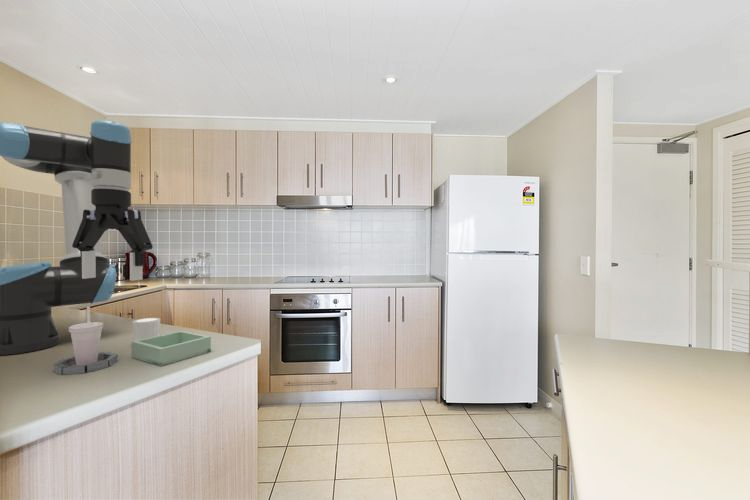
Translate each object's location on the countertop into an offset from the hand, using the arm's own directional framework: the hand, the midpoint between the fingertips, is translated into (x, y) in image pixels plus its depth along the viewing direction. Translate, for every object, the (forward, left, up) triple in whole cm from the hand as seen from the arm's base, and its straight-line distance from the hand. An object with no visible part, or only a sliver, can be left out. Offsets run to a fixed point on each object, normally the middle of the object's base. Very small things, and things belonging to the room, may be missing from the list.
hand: (112, 279), depth 83 cm
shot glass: (-11, +13, -21) cm, 27 cm away
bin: (+5, +11, -20) cm, 24 cm away
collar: (-4, -4, -20) cm, 21 cm away
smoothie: (-4, -4, -21) cm, 21 cm away
